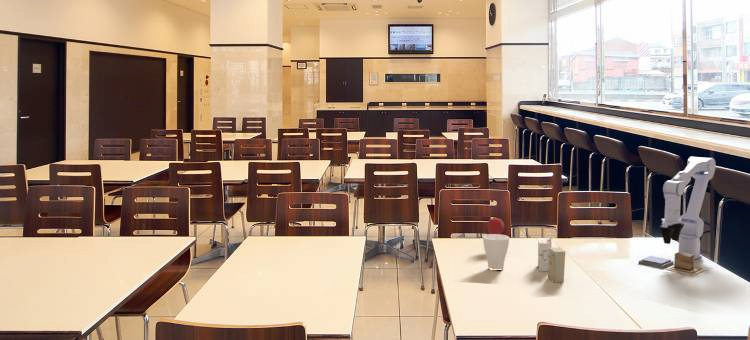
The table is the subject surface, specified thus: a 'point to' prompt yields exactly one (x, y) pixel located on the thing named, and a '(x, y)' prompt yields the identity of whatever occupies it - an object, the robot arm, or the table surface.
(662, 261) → the ink pad
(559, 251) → the skincare box
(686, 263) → the brown rectangular block
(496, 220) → the lollipop
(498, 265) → the cup
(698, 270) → the marked card
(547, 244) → the gray blocky tower
